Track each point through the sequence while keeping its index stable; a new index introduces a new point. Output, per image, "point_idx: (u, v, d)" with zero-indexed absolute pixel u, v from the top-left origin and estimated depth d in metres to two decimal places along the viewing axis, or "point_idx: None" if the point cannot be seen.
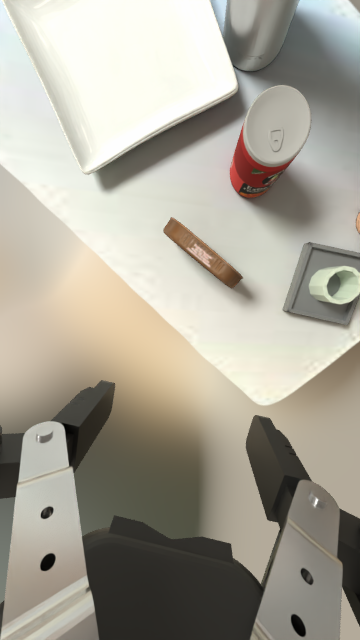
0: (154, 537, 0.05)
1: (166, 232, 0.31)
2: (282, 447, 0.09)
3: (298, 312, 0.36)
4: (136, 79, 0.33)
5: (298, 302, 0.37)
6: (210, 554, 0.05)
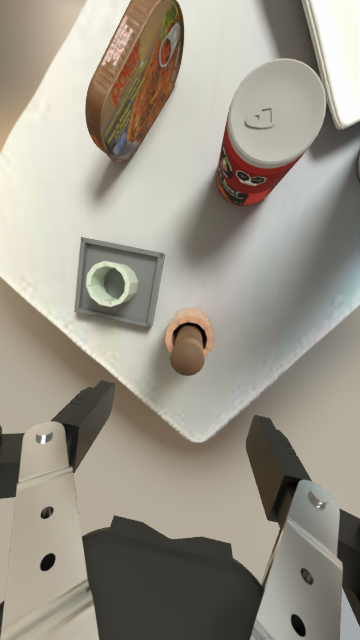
0: (154, 538, 0.05)
1: None
2: (282, 447, 0.09)
3: (81, 252, 0.30)
4: None
5: (95, 253, 0.30)
6: (210, 554, 0.05)
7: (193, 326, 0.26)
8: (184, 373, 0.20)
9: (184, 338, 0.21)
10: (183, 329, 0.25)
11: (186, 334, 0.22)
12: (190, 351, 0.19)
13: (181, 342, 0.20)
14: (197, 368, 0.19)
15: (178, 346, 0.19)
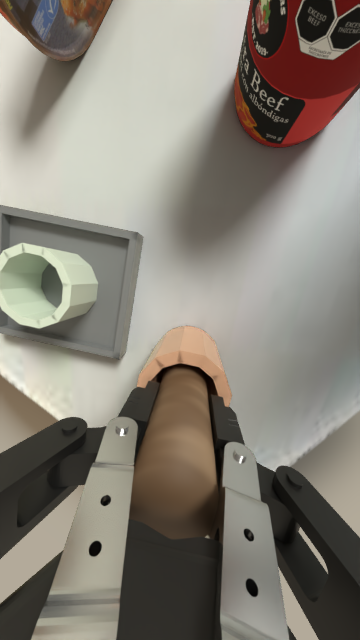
0: (154, 537, 0.05)
1: None
2: (224, 418, 0.10)
3: None
4: None
5: (24, 234, 0.18)
6: (210, 554, 0.05)
7: (190, 369, 0.13)
8: None
9: (168, 428, 0.08)
10: (170, 379, 0.12)
11: (174, 405, 0.10)
12: (180, 487, 0.07)
13: (156, 452, 0.07)
14: (200, 530, 0.07)
15: (145, 472, 0.07)
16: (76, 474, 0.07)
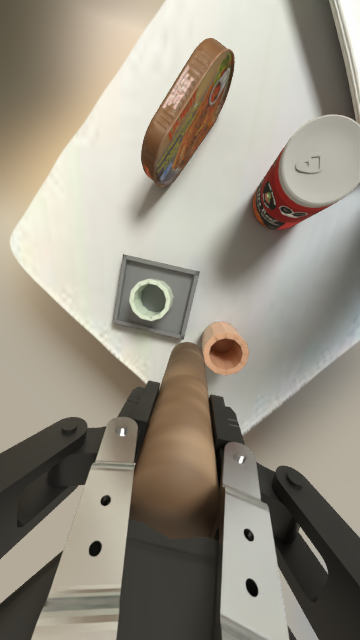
0: (154, 537, 0.05)
1: (212, 38, 0.21)
2: (224, 418, 0.10)
3: (122, 268, 0.32)
4: None
5: (135, 269, 0.32)
6: (210, 554, 0.05)
7: (191, 370, 0.13)
8: None
9: (169, 429, 0.08)
10: (171, 380, 0.12)
11: (175, 406, 0.10)
12: (181, 488, 0.07)
13: (157, 453, 0.07)
14: (201, 531, 0.07)
15: (147, 473, 0.07)
16: (76, 474, 0.07)
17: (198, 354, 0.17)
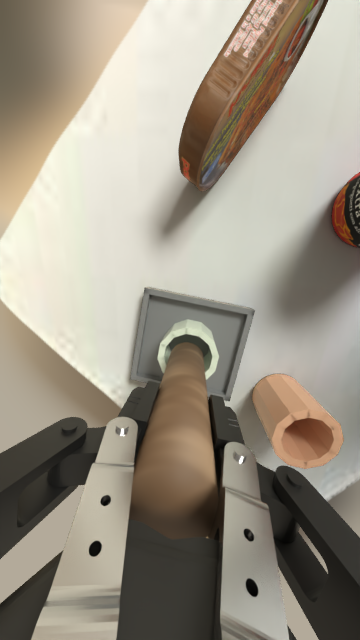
0: (154, 537, 0.05)
1: None
2: (224, 418, 0.10)
3: (144, 306, 0.22)
4: None
5: (160, 307, 0.23)
6: (210, 554, 0.05)
7: (190, 370, 0.13)
8: None
9: (167, 429, 0.08)
10: (170, 380, 0.12)
11: (174, 406, 0.10)
12: (180, 489, 0.07)
13: (156, 453, 0.07)
14: (200, 531, 0.07)
15: (145, 474, 0.07)
16: (76, 474, 0.07)
17: (197, 354, 0.17)
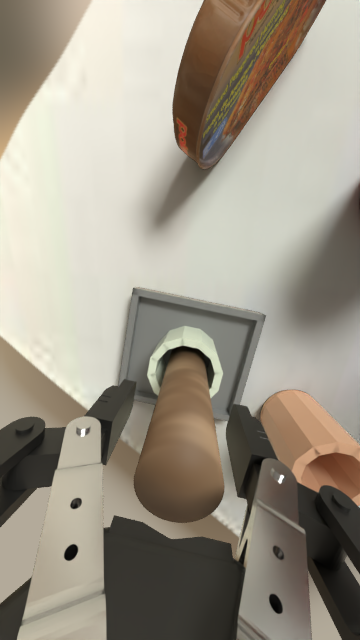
0: (154, 538, 0.05)
1: None
2: (254, 431, 0.09)
3: (132, 310, 0.19)
4: None
5: (152, 311, 0.19)
6: (210, 554, 0.05)
7: (192, 364, 0.14)
8: (171, 517, 0.07)
9: (174, 415, 0.09)
10: (173, 373, 0.13)
11: (178, 395, 0.10)
12: (187, 466, 0.07)
13: (164, 435, 0.08)
14: (205, 507, 0.07)
15: (155, 452, 0.07)
16: (30, 477, 0.07)
17: (198, 351, 0.18)
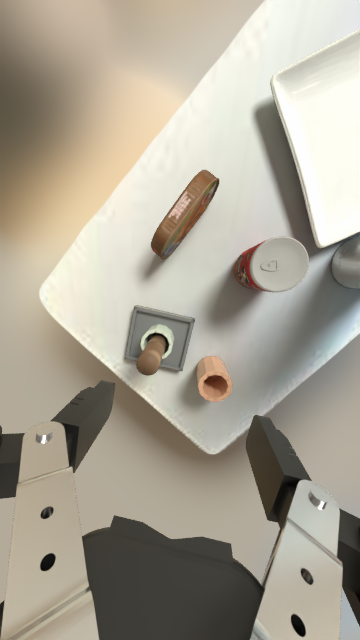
0: (154, 537, 0.05)
1: (203, 170, 0.30)
2: (282, 447, 0.09)
3: (133, 316, 0.40)
4: (347, 151, 0.34)
5: (143, 317, 0.41)
6: (210, 554, 0.05)
7: (158, 339, 0.36)
8: (146, 373, 0.29)
9: (147, 350, 0.30)
10: (150, 342, 0.34)
11: (150, 346, 0.32)
12: (149, 359, 0.29)
13: (144, 353, 0.29)
14: (154, 370, 0.29)
15: (141, 355, 0.29)
16: None
17: (163, 335, 0.39)
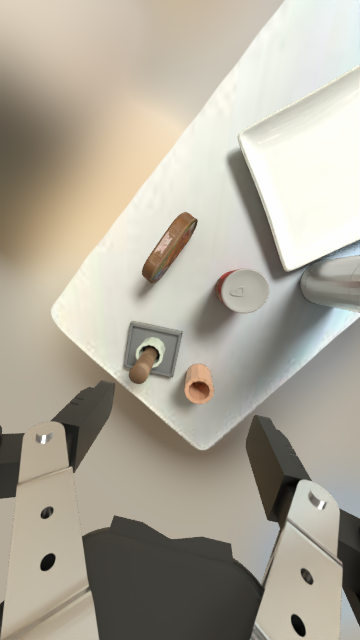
0: (154, 537, 0.05)
1: (182, 214, 0.37)
2: (282, 447, 0.09)
3: (130, 331, 0.47)
4: (308, 188, 0.40)
5: (138, 331, 0.48)
6: (210, 554, 0.05)
7: (149, 352, 0.42)
8: (137, 382, 0.36)
9: (138, 362, 0.37)
10: (142, 354, 0.41)
11: (141, 359, 0.38)
12: (139, 371, 0.35)
13: (135, 365, 0.36)
14: (143, 380, 0.36)
15: (133, 368, 0.35)
16: None
17: None
